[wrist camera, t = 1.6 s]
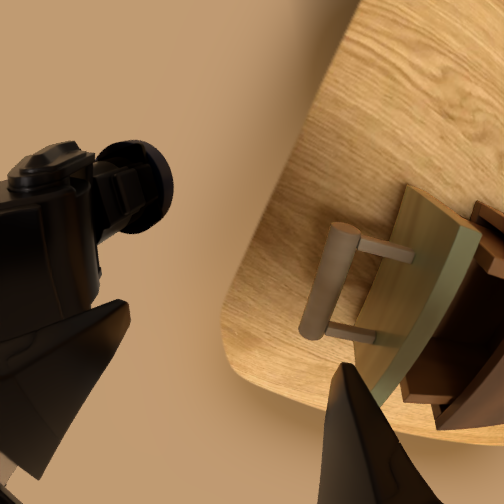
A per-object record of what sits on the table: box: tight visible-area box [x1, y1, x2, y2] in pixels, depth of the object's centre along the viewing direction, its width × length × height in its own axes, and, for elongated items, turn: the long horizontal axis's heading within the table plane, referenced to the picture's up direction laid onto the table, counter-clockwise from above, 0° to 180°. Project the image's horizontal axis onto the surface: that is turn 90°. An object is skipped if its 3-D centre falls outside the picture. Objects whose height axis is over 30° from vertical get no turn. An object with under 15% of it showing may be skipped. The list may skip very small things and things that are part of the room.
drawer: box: [298, 185, 504, 407], centre depth 13 cm, size 17×10×7 cm, turn 81°
